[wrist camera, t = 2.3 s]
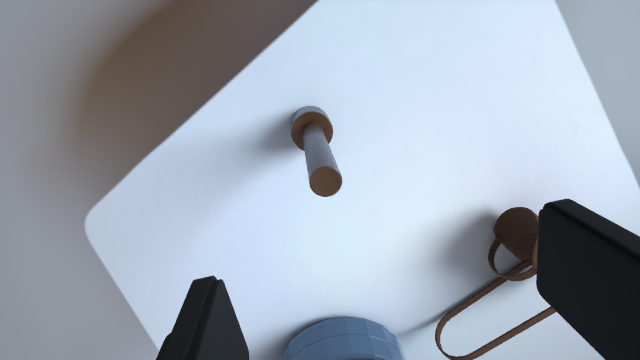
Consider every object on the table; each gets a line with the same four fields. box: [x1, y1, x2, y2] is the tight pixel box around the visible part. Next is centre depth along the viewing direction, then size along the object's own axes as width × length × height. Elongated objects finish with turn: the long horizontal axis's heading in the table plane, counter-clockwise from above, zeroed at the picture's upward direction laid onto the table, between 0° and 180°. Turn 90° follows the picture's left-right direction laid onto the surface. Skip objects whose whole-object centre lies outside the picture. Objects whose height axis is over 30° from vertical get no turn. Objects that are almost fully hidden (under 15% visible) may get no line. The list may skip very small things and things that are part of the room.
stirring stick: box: [291, 106, 342, 197], centre depth 26 cm, size 4×4×15 cm
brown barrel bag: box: [435, 207, 557, 360], centre depth 38 cm, size 18×12×7 cm, turn 139°
